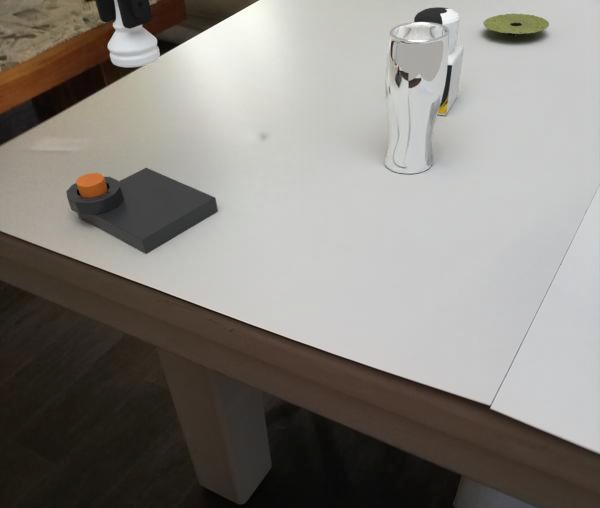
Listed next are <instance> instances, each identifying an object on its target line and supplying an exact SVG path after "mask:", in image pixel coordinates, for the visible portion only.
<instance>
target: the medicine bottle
mask: <svg viewBox="0 0 600 508" xmlns="http://www.w3.org/2000/svg"><path fill="white" fill-rule="evenodd" d="M460 21H461V17H460V14H459V13H458V12H457V11H455V10H454V9H452V8H449V7H440V6H439V7H438V6H437V7H436V6H435V7H429V8H424V9H423V10H421V11H419V12H417V13H416V15H415V16H414V19H413V22H432V23H438V24H441V25H444V26H446V27H447V28H449V30H450V33H449V52H448V66H447V75H446V82H445V87H444V91H443V96H442V100H441V103H440V107H439V110H438V114H437V116H443V117H444V116H447V114H448V113H449V111H450V109H451V108H452V106H453V104H454V103H455V101H456V100H457V98H458V94H459V87H460V80H461V72H462V65H463V56H464V49H465V48H464V46H463V45H461V44H457V43H458V35H459V27H460Z"/></svg>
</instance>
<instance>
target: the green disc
mask: <svg viewBox="0 0 600 508" xmlns="http://www.w3.org/2000/svg"><path fill="white" fill-rule="evenodd" d="M482 23H483V26H484V28H486V29H488V30H490V31H493V32H498V33H502V34H508V33H512V34H511V35H513V34H515V35H517V34H518V35H521V34H522V35H524V34H534V33H538V32H541V31H544V30H546V29H547V28H549V26H550V23H549V21H548V20H547V19H545V18H544V17H540V16H538V15H534V14H525V13H505V14H498V15H493V16H490V17H488V18H486V19H485V20H483V22H482Z"/></svg>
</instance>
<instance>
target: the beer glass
mask: <svg viewBox="0 0 600 508" xmlns="http://www.w3.org/2000/svg"><path fill="white" fill-rule="evenodd" d="M449 33H450V30H449V28H447V27H446V26H444V25H441V24H438V23H432V22H414V21H413V22H412V21H411V22H405V23H400V24H397V25H395V26H394V27H392V28H391V29H390V30H389V37H388V46H387V53H386V62H385V82H384V83H385V98H386V109H387V118H388V126H389V133H388V135H389V136H388V144H387V148H386V153H385V157H384V165H385V167H386V168H387V169H389V170H390V171H391V172H394V173H398V174H402V175H415V174H420V173H423V172H425V171H428V170H429V169H430V168H431V167H432V165H433V163H434V162H433V160H434V157H433V135H434V134H433V133H434V128H435V124H436V121H437V117H438V115H437V114H438V110H439V107H440V103H441V100H442V96H443V91H444V87H445V82H446V75H447V66H448V52H449Z"/></svg>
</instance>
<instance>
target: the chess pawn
mask: <svg viewBox="0 0 600 508" xmlns="http://www.w3.org/2000/svg"><path fill="white" fill-rule="evenodd" d="M114 3H115V10H116V20H114V21H113V23H112V27H113V29H114V30H115V31H114V32H113V34H112V36H111V38H110V39H109V41H108V43H107V50H108V51H109V58H110V62H111V63H112V65H114V66H116V67H120V68H128V69H129V68H140V67H144V66H147V65H150V64H153V63H155V62H156V61H158V60H159V59H160V57H161V53H160V48H159V46H158V39H157V37H156V36H154V35H153V34H152V33H151V32H149V31H148V30H147V29H146V28H145V27H143V24H142V25H139V26H136V27H134V28H131V29H129V28H125V27H124V26H123V23H122V19H121V15H120V11H119V6H118V2H117V0H114Z"/></svg>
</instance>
